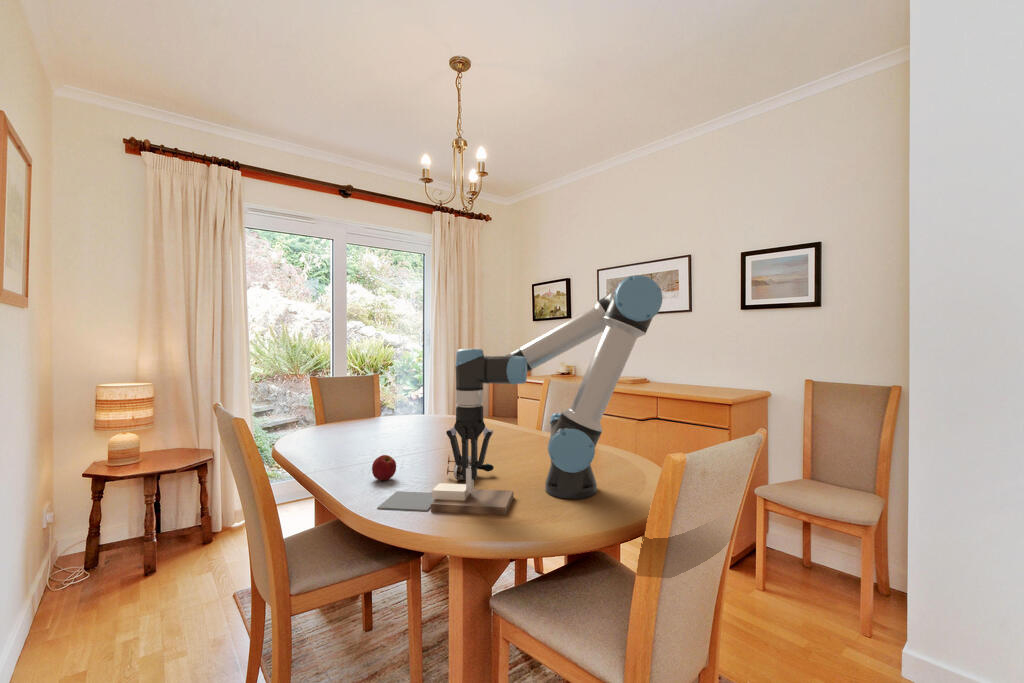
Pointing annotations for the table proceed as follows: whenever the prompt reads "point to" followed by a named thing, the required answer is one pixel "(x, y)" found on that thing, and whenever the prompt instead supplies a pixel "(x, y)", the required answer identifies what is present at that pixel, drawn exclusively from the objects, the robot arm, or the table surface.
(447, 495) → the tile
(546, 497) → the table surface
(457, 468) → the decorative duck model
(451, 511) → the brown wooden board
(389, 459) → the apple
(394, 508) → the mat
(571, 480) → the robot arm
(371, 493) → the table surface
